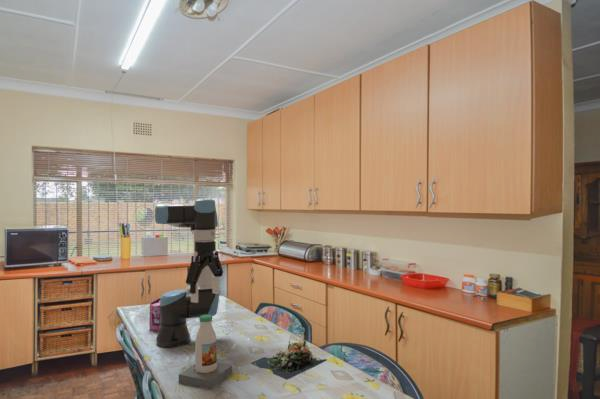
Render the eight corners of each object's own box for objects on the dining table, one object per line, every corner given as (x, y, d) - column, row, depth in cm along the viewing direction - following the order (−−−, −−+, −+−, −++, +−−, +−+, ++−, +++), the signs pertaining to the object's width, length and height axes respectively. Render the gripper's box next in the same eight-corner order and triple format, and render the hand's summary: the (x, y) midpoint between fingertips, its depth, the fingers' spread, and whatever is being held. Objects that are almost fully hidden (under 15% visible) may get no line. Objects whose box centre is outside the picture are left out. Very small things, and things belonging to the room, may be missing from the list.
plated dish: (295, 341, 188) (295, 326, 188) (345, 358, 169) (345, 341, 169) (237, 366, 162) (237, 348, 161) (288, 389, 143) (288, 369, 143)
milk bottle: (193, 374, 145) (193, 319, 145) (197, 365, 153) (197, 313, 153) (215, 373, 146) (215, 318, 146) (217, 364, 153) (217, 312, 153)
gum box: (162, 331, 201) (162, 304, 201) (147, 331, 202) (147, 304, 202) (181, 317, 225) (181, 293, 225) (168, 317, 226) (168, 292, 226)
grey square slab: (178, 382, 145) (178, 374, 145) (201, 367, 158) (201, 359, 158) (211, 389, 140) (211, 380, 140) (232, 372, 153) (232, 364, 153)
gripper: (193, 245, 136) (193, 307, 136) (231, 237, 159) (231, 290, 159) (175, 244, 139) (175, 305, 139) (215, 237, 162) (215, 289, 162)
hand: (205, 297), depth 149 cm, fingers open, 13 cm apart
